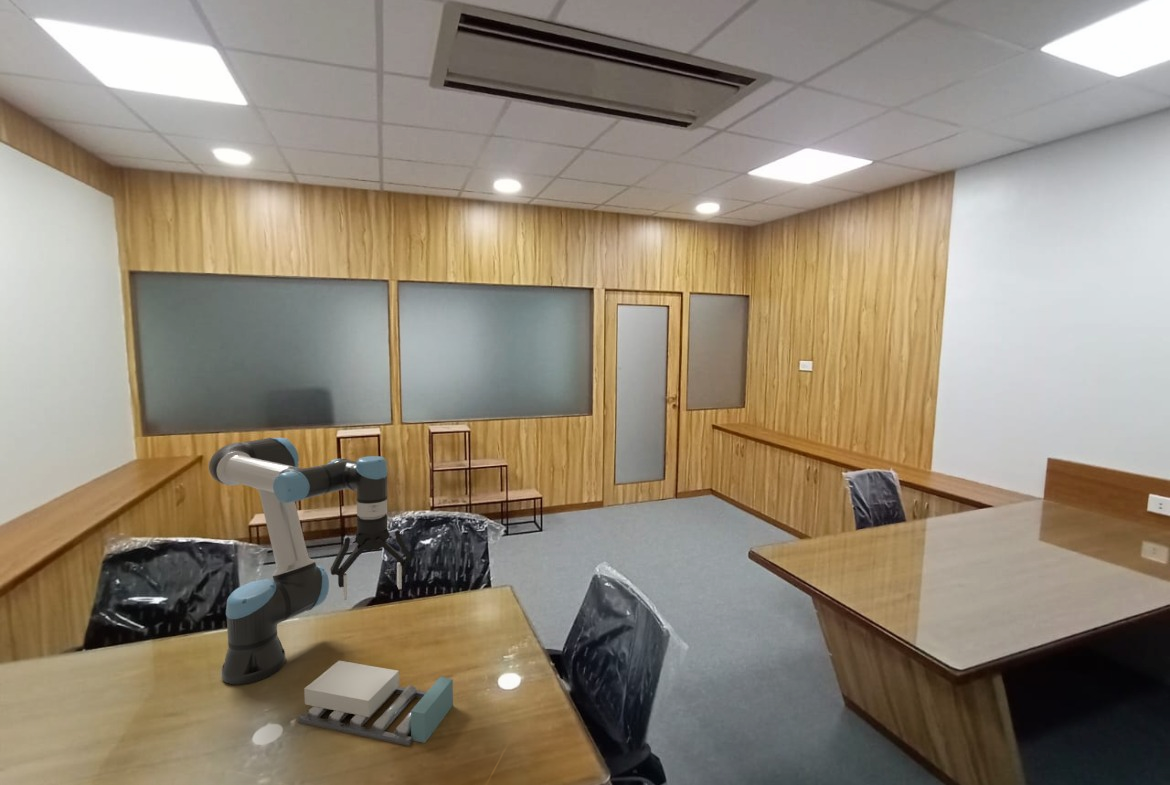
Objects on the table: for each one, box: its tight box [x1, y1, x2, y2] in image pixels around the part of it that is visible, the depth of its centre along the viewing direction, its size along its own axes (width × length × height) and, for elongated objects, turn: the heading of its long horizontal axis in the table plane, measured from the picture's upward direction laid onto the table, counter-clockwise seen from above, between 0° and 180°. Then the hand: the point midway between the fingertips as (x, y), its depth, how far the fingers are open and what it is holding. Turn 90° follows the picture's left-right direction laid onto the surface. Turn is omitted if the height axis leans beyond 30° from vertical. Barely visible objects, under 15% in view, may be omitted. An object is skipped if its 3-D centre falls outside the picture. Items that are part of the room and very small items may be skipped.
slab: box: [303, 660, 400, 717], centre depth 129 cm, size 18×12×4 cm, turn 76°
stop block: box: [410, 676, 454, 744], centre depth 124 cm, size 4×13×7 cm, turn 166°
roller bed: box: [297, 685, 428, 747], centre depth 128 cm, size 16×30×3 cm, turn 76°
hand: (372, 592), depth 139 cm, fingers open, 13 cm apart
